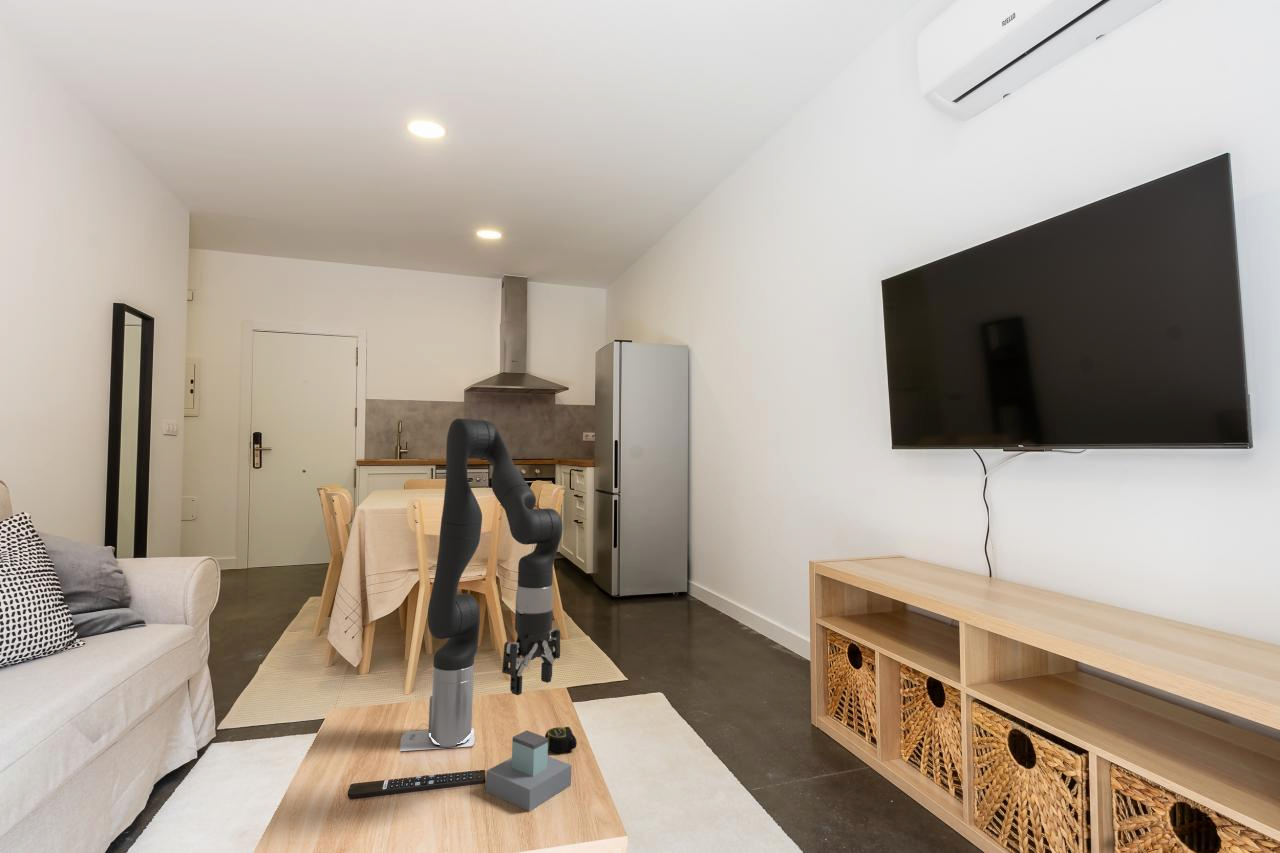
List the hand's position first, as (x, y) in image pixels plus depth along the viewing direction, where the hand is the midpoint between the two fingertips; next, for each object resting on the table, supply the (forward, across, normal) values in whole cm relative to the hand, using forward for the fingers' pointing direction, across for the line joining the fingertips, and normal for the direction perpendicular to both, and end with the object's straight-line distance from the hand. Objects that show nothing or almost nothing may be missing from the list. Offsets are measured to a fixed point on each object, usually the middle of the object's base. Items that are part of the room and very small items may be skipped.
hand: (531, 687), depth 129 cm
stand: (+20, 0, 0) cm, 20 cm away
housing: (+16, 0, 0) cm, 16 cm away
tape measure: (+20, -18, -6) cm, 28 cm away
